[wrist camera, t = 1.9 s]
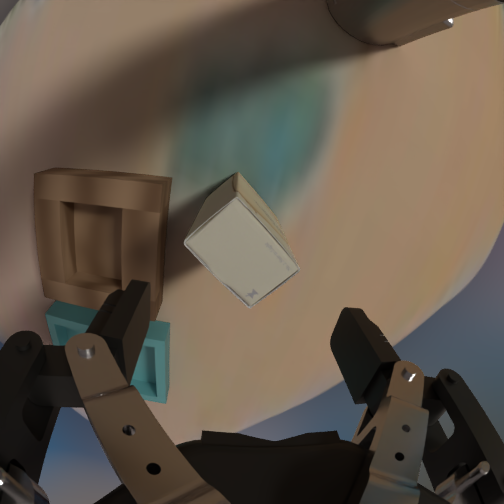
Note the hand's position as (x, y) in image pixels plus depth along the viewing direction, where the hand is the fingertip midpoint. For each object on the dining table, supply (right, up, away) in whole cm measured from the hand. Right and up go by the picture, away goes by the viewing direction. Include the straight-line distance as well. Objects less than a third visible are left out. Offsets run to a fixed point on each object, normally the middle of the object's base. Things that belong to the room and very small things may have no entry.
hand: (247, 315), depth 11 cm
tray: (-19, -10, +23) cm, 31 cm away
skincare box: (-1, +7, +17) cm, 18 cm away
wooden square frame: (-16, +4, +17) cm, 23 cm away
